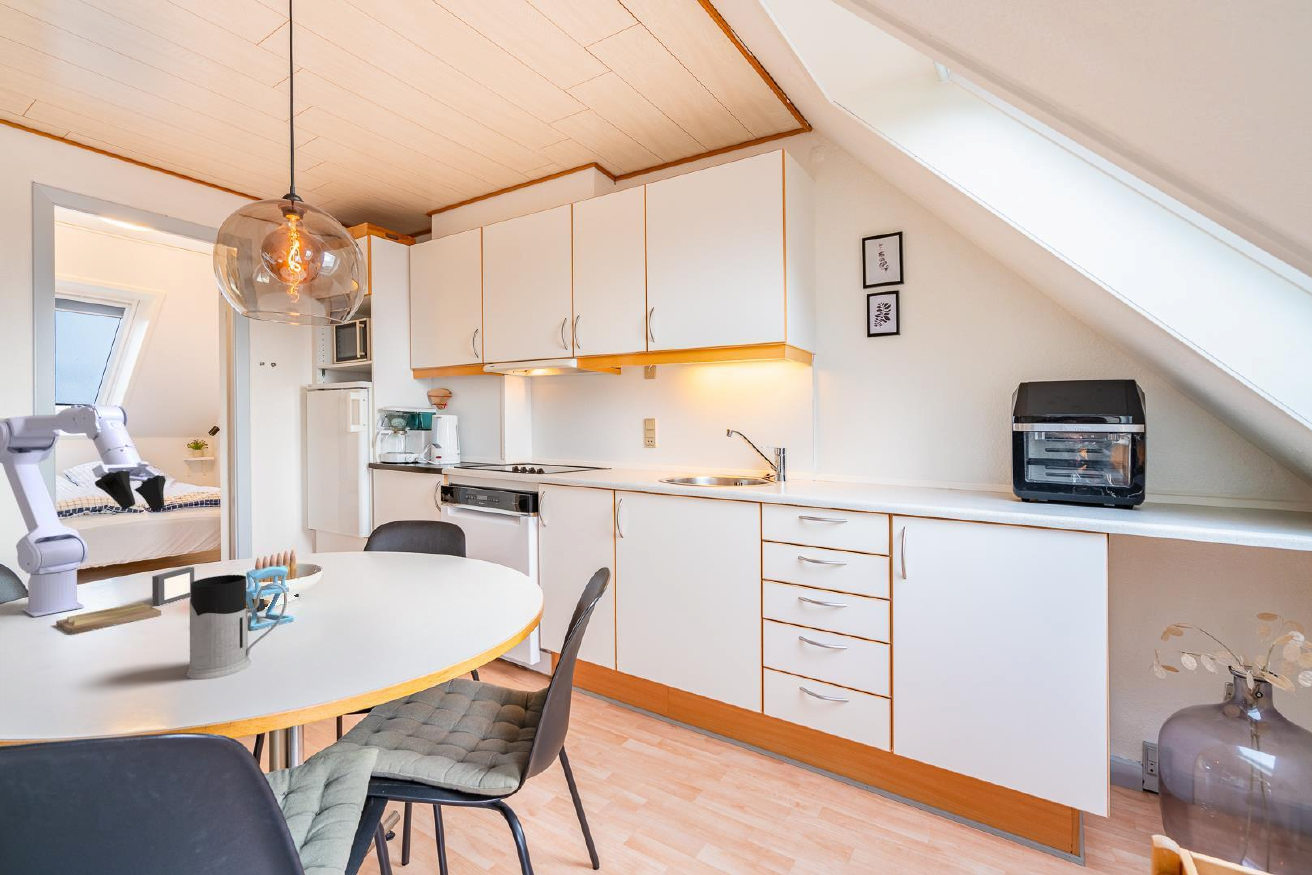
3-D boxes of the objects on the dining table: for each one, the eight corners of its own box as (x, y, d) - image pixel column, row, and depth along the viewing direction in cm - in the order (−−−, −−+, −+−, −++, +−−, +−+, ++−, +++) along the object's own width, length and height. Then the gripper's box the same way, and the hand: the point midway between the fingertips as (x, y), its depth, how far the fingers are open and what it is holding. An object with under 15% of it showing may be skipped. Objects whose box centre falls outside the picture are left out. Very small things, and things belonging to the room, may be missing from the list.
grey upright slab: (152, 606, 132) (152, 576, 132) (188, 595, 141) (188, 567, 141) (159, 606, 131) (158, 576, 131) (194, 595, 140) (194, 567, 140)
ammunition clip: (257, 612, 128) (257, 558, 127) (251, 611, 128) (251, 558, 128) (299, 598, 138) (299, 549, 138) (293, 598, 138) (292, 548, 138)
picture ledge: (56, 625, 118) (56, 615, 118) (143, 607, 130) (143, 599, 130) (72, 634, 113) (72, 624, 113) (161, 615, 125) (161, 606, 125)
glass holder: (198, 662, 100) (197, 576, 100) (292, 651, 105) (292, 569, 105) (177, 682, 92) (176, 589, 92) (280, 669, 97) (280, 581, 97)
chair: (280, 613, 127) (280, 559, 127) (294, 621, 122) (294, 564, 122) (239, 622, 121) (238, 565, 121) (251, 630, 116) (251, 571, 116)
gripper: (107, 438, 117) (134, 495, 115) (163, 450, 131) (188, 500, 129) (72, 455, 116) (99, 513, 114) (133, 466, 130) (158, 517, 128)
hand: (144, 508), depth 121 cm, fingers open, 7 cm apart
